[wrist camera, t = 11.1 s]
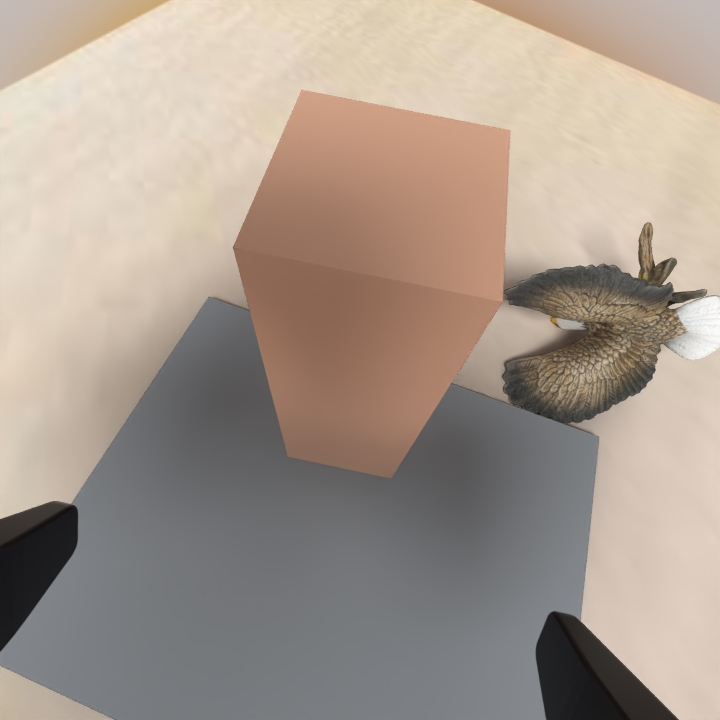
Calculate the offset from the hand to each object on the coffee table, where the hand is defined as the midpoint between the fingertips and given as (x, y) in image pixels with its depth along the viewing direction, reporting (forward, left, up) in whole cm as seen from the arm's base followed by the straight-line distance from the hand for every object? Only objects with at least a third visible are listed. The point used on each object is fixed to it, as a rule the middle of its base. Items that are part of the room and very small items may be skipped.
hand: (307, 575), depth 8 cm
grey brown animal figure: (+15, -9, -10) cm, 20 cm away
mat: (+2, 0, -10) cm, 10 cm away
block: (+7, +1, -10) cm, 12 cm away
